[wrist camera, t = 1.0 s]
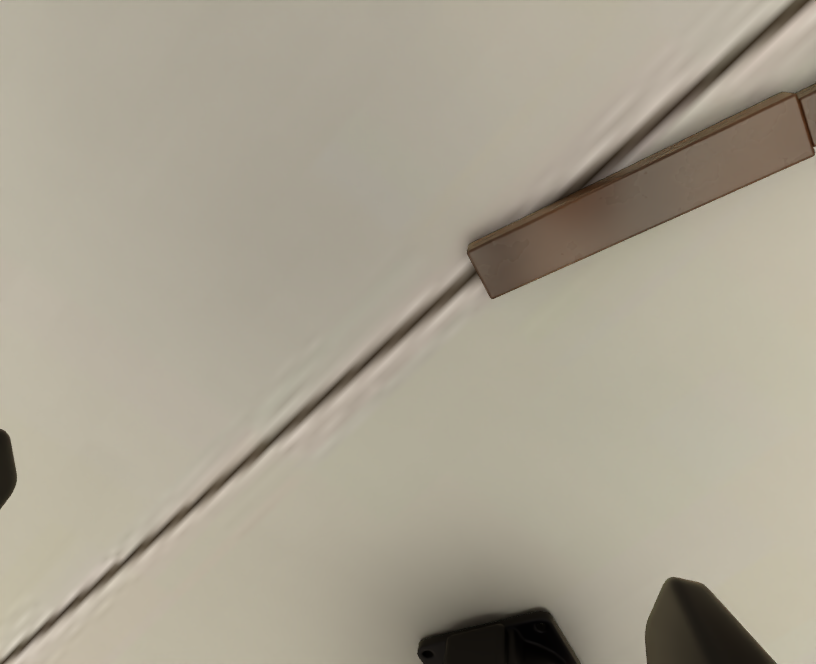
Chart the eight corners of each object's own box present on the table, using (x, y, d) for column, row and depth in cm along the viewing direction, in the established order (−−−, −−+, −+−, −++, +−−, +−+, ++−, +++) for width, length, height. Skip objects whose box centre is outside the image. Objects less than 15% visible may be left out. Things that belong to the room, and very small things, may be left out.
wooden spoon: (517, 340, 20) (518, 355, 19) (438, 189, 19) (434, 197, 18) (1125, 87, 15) (1172, 90, 14) (1093, -159, 13) (1144, -178, 12)
